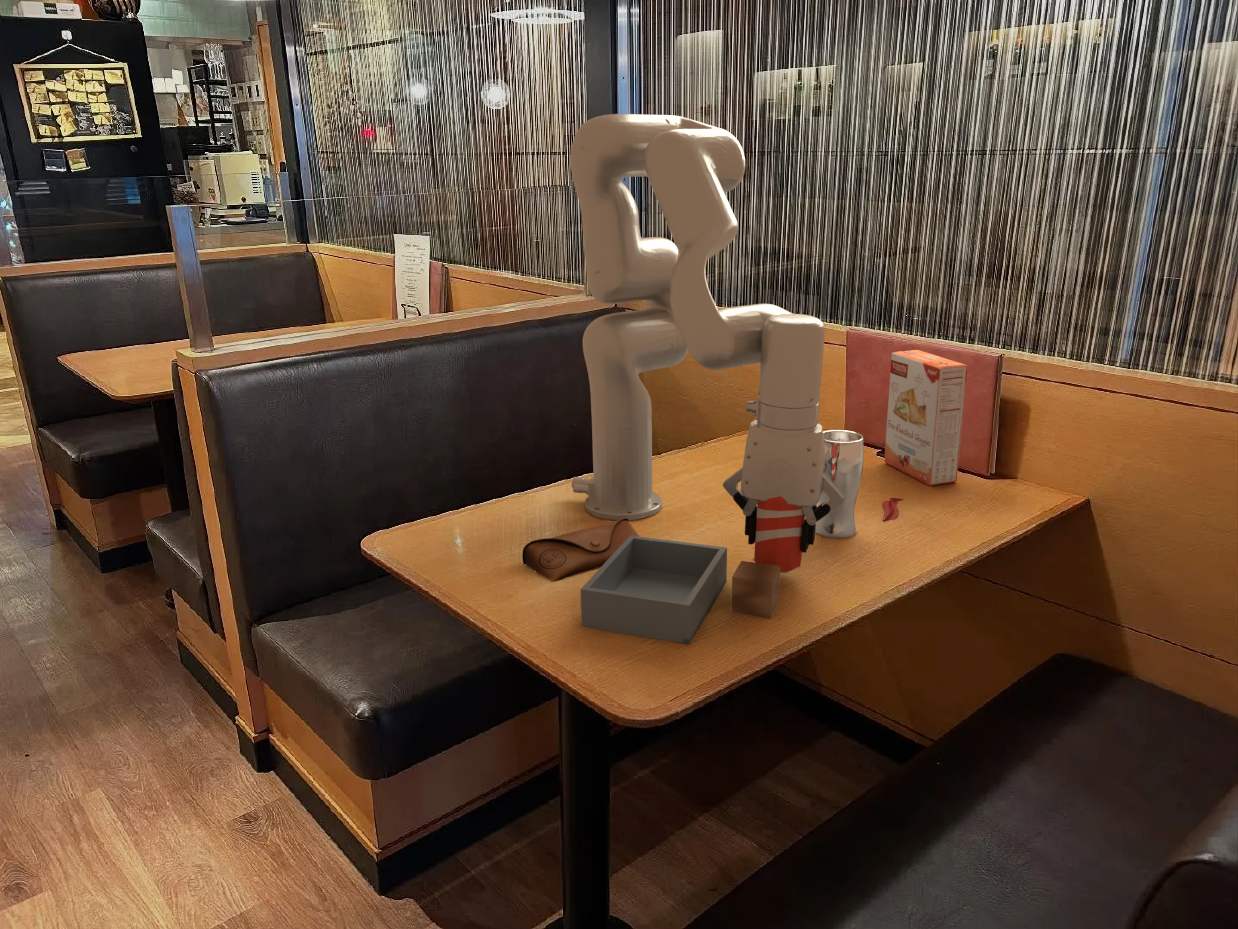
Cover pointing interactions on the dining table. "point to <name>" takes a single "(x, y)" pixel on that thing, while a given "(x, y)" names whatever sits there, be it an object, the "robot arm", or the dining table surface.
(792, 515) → the beverage can
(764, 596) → the walnut cube
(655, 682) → the dining table surface
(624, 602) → the tote
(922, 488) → the dining table surface
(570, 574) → the sunglasses case
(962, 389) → the cracker box
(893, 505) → the cayenne pepper
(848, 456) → the beer glass
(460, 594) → the dining table surface
